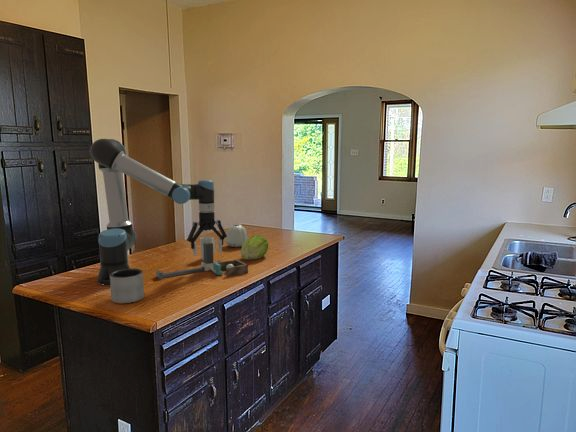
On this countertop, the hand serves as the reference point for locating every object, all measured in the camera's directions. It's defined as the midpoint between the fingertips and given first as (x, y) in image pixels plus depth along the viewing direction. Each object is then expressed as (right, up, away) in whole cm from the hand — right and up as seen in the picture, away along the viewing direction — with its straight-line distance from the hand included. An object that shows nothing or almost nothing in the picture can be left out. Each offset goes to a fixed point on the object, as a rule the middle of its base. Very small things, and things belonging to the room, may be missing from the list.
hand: (207, 253), depth 209 cm
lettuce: (+21, -5, +22) cm, 31 cm away
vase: (+8, 0, +52) cm, 52 cm away
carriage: (+3, -9, -3) cm, 10 cm away
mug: (-3, -5, +23) cm, 24 cm away
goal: (+12, -9, -3) cm, 15 cm away
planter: (-25, -15, -40) cm, 49 cm away
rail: (-7, -9, -4) cm, 12 cm away
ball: (+12, -7, -3) cm, 14 cm away
